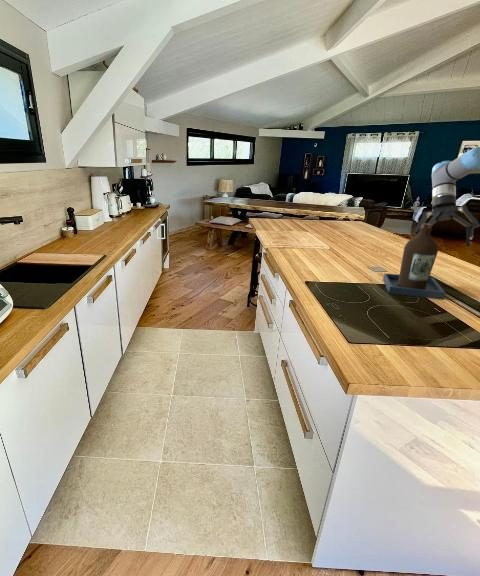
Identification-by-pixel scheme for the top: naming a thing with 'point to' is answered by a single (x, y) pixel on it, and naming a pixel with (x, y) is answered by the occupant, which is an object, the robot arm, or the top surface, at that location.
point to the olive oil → (418, 259)
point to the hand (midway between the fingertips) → (445, 247)
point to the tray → (430, 292)
